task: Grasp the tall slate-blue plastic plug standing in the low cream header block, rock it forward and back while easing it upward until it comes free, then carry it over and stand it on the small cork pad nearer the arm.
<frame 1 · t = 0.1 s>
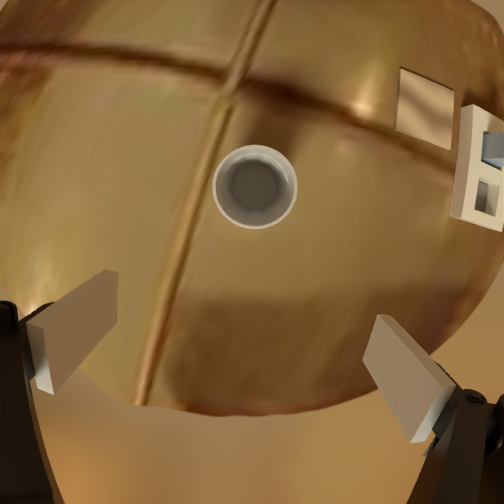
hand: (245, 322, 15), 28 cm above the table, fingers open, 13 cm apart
plug: (479, 151, 39), resting in header
pad: (425, 109, 38), on the table
header: (478, 168, 40), on the table
cup: (254, 185, 41), on the table
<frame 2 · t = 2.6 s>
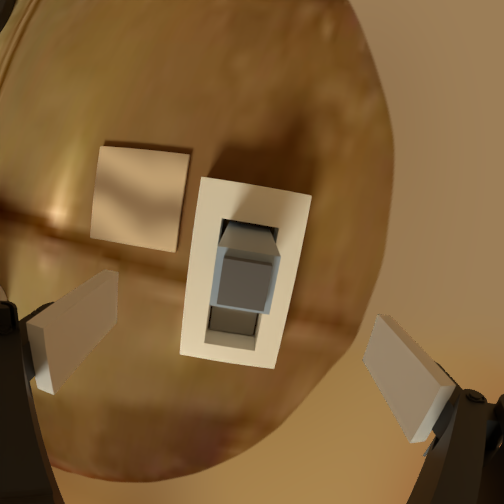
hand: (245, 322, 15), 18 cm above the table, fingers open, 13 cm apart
plug: (246, 243, 32), resting in header
pad: (137, 197, 31), on the table
header: (241, 271, 33), on the table
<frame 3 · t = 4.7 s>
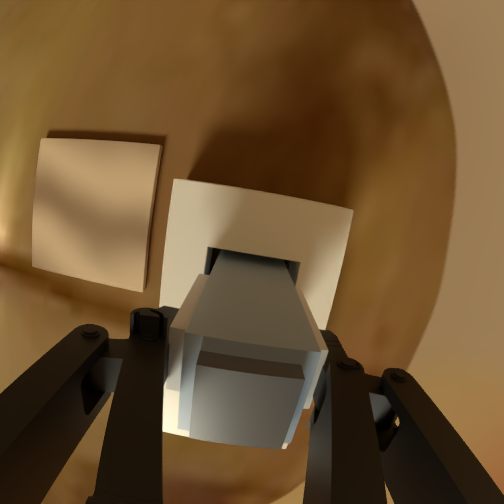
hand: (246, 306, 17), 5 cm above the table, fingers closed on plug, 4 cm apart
plug: (247, 280, 21), resting in header, touching gripper
pad: (88, 210, 20), on the table
header: (240, 320, 22), on the table
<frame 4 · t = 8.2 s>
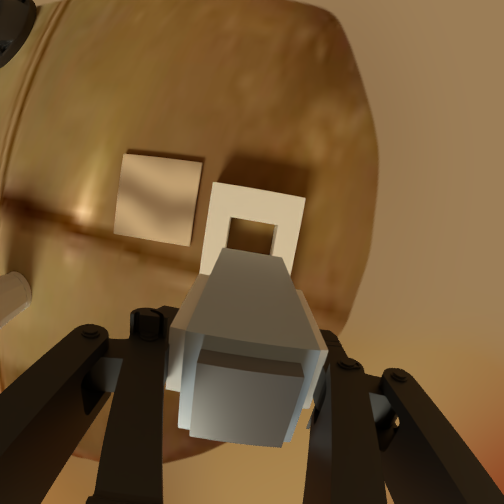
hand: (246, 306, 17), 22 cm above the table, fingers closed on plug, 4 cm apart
plug: (247, 280, 22), point 17 cm above the table, touching gripper
pad: (156, 198, 37), on the table
header: (245, 263, 39), on the table
cup: (18, 290, 40), on the table
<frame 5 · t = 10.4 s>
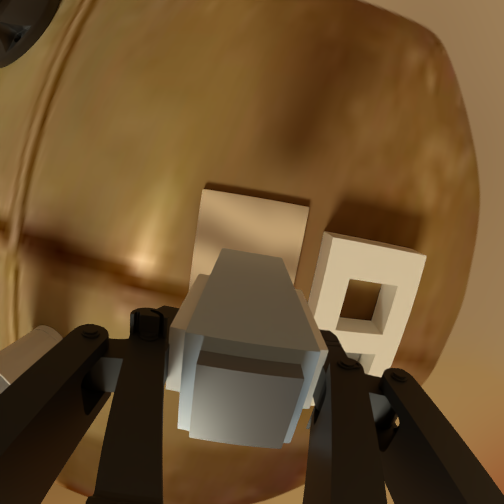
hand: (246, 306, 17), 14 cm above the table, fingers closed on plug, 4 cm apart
plug: (247, 281, 21), point 9 cm above the table, touching gripper
pad: (247, 248, 31), on the table
header: (348, 321, 32), on the table
cup: (50, 346, 33), on the table
when the fingers open (6 cm above the table, at t = 12.0 s): plug stays where it is, resting on pad.
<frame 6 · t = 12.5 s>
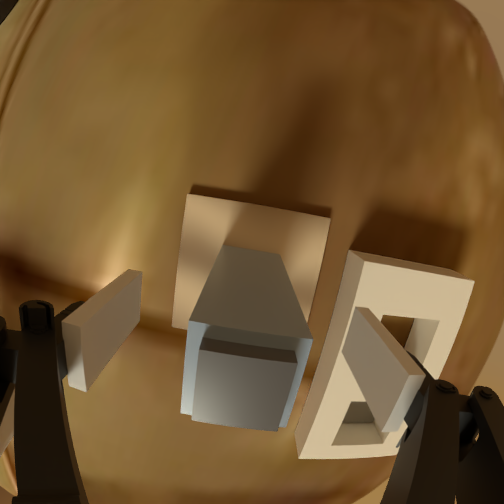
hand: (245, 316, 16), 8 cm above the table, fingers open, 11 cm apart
plug: (246, 277, 22), point 1 cm above the table, touching pad
pad: (247, 273, 23), on the table
header: (374, 360, 25), on the table
cup: (20, 378, 26), on the table
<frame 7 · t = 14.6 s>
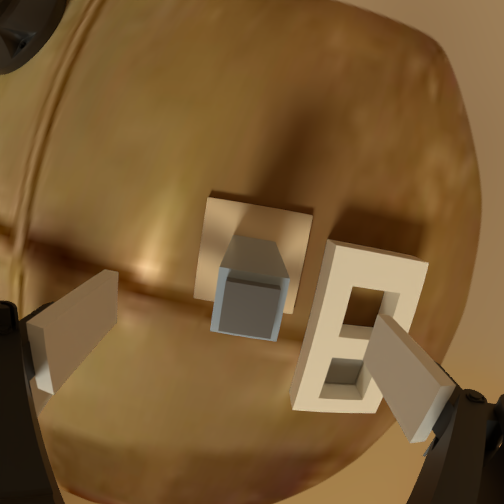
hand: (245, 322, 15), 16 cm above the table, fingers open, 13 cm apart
plug: (250, 258, 30), point 1 cm above the table, touching pad
pad: (251, 256, 31), on the table
header: (351, 328, 32), on the table
cup: (55, 351, 34), on the table
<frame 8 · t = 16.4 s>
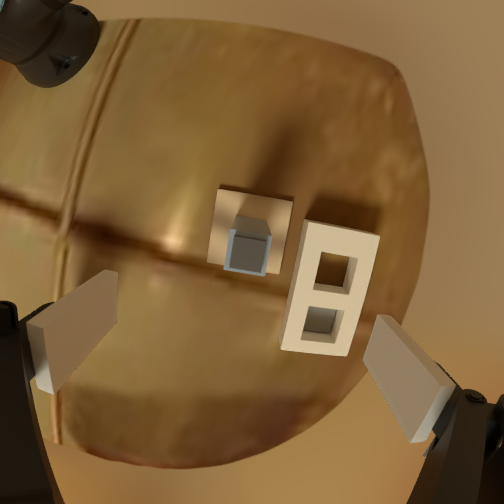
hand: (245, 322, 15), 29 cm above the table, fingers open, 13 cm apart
plug: (248, 232, 42), point 1 cm above the table, touching pad
pad: (249, 231, 43), on the table
header: (324, 287, 45), on the table
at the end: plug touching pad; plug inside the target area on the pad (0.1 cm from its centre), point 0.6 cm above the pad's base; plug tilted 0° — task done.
